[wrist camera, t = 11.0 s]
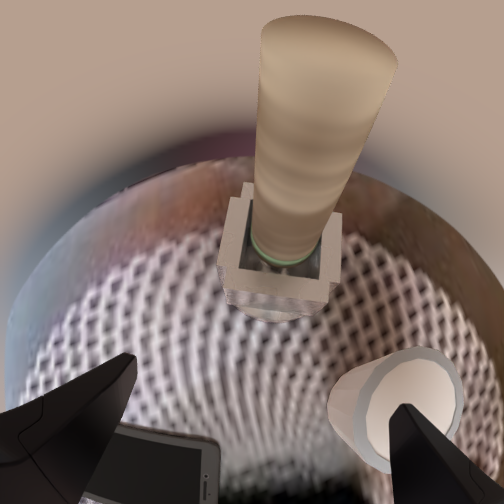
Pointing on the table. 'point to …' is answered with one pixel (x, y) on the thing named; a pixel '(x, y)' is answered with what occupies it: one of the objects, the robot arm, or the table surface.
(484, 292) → the table surface
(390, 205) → the table surface
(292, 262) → the post
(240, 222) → the stand
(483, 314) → the table surface
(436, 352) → the white short cylinder
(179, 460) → the cell phone
